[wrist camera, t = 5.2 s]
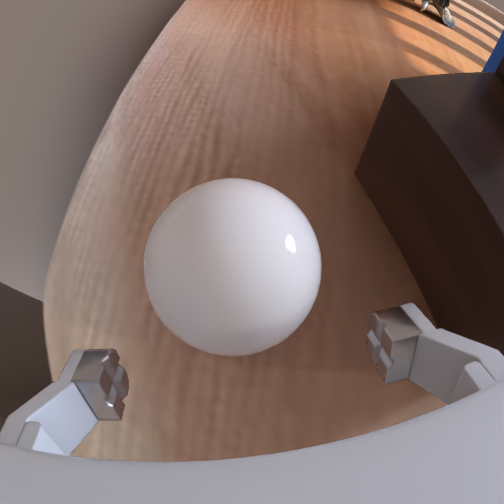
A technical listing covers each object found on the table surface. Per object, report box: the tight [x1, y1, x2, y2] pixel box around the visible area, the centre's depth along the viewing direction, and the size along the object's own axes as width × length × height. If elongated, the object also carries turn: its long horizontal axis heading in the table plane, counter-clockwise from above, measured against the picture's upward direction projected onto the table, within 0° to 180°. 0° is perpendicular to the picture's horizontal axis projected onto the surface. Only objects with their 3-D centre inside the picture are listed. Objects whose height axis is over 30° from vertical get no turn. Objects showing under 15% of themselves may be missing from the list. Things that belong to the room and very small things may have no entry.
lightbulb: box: [143, 178, 322, 357], centre depth 14 cm, size 6×6×11 cm
